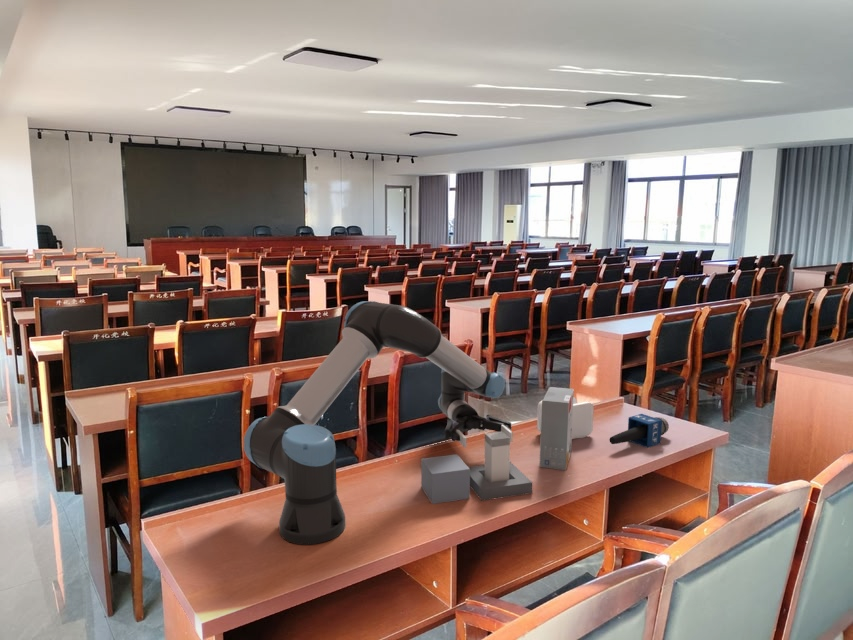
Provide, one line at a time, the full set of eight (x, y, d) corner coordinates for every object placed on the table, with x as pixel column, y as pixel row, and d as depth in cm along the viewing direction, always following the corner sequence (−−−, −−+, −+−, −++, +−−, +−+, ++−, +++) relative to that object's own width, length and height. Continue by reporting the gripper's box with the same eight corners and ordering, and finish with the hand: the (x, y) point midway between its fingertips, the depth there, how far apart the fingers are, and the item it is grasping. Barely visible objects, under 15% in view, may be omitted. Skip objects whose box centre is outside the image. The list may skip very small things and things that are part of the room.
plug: (491, 490, 160) (492, 439, 158) (484, 482, 165) (484, 433, 163) (509, 488, 162) (509, 437, 159) (501, 480, 167) (502, 431, 164)
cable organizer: (555, 444, 192) (556, 408, 190) (535, 433, 201) (536, 399, 199) (593, 436, 198) (594, 402, 196) (572, 426, 208) (573, 393, 206)
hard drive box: (566, 471, 172) (568, 403, 168) (539, 468, 174) (540, 400, 171) (571, 451, 186) (574, 388, 183) (546, 448, 189) (548, 385, 185)
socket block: (481, 500, 155) (481, 489, 154) (463, 477, 168) (463, 467, 168) (532, 493, 159) (532, 482, 158) (510, 471, 172) (510, 461, 172)
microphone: (602, 424, 187) (654, 409, 200) (601, 448, 188) (653, 432, 202) (623, 431, 180) (675, 416, 194) (622, 456, 182) (673, 439, 195)
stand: (432, 504, 153) (432, 474, 152) (421, 487, 163) (421, 458, 161) (469, 498, 156) (469, 468, 155) (456, 482, 166) (456, 454, 164)
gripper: (500, 423, 192) (529, 447, 172) (424, 431, 186) (445, 458, 166) (500, 400, 191) (530, 422, 171) (424, 407, 184) (445, 431, 164)
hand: (488, 439), depth 168 cm, fingers open, 13 cm apart
